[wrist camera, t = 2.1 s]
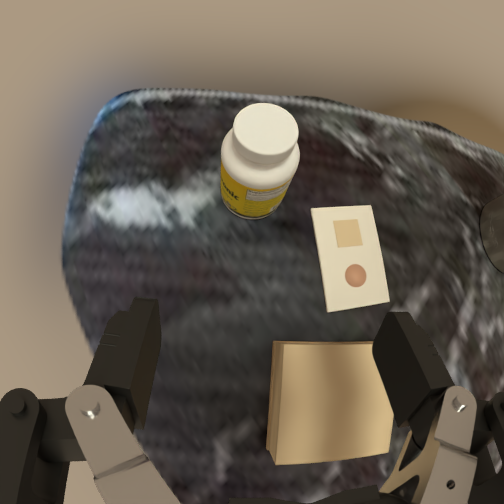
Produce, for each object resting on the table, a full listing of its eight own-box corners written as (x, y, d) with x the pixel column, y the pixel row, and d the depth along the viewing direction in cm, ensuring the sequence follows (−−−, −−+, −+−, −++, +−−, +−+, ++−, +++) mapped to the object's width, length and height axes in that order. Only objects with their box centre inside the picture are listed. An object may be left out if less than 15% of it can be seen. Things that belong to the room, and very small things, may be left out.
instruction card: (369, 206, 28) (371, 204, 28) (388, 301, 26) (390, 301, 26) (310, 209, 28) (311, 207, 27) (326, 312, 26) (328, 312, 25)
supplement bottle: (216, 168, 28) (217, 96, 18) (275, 162, 28) (300, 93, 19) (224, 225, 27) (227, 168, 17) (287, 218, 27) (320, 161, 18)
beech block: (376, 341, 25) (400, 341, 22) (368, 439, 23) (389, 453, 19) (272, 340, 25) (282, 342, 21) (266, 447, 22) (274, 466, 19)
